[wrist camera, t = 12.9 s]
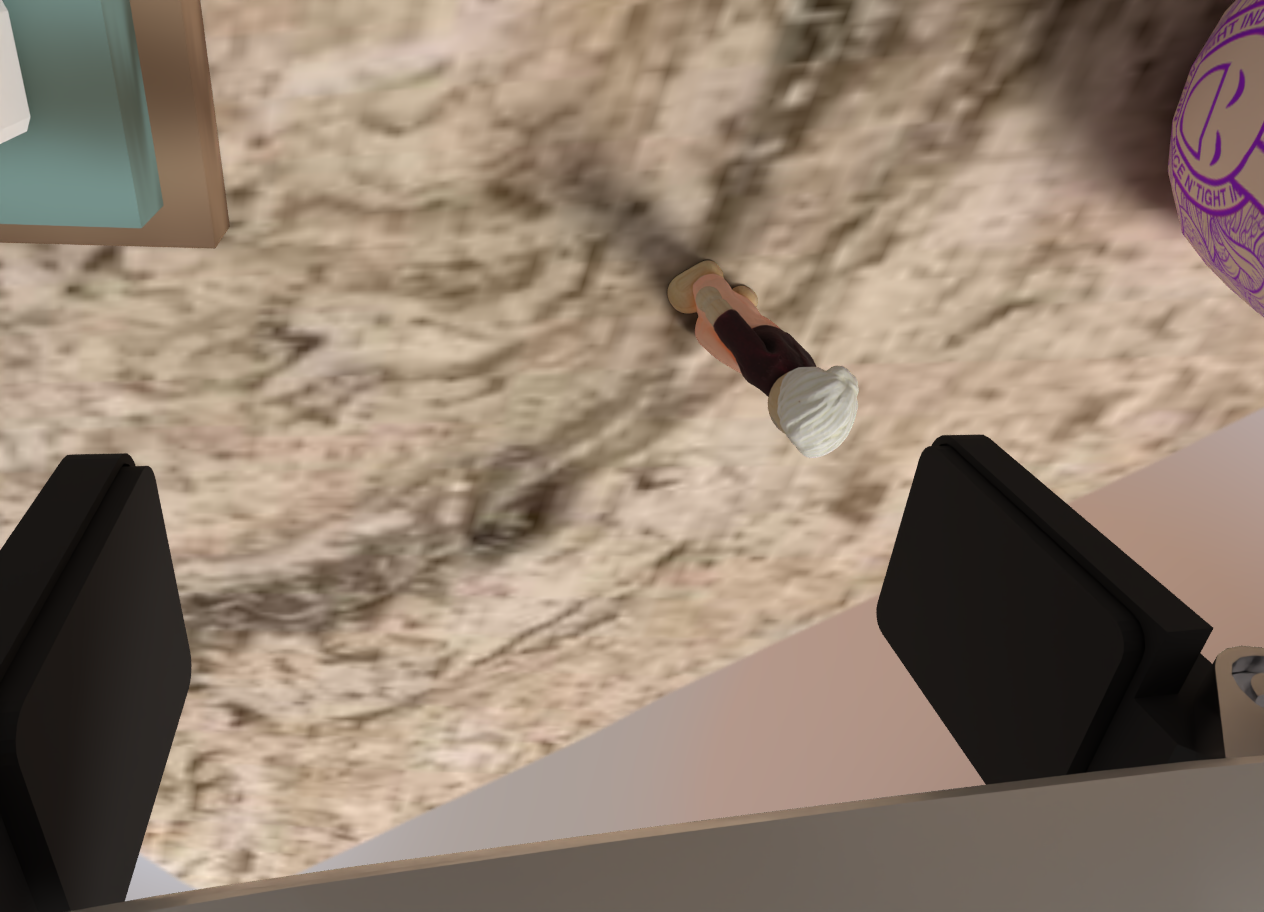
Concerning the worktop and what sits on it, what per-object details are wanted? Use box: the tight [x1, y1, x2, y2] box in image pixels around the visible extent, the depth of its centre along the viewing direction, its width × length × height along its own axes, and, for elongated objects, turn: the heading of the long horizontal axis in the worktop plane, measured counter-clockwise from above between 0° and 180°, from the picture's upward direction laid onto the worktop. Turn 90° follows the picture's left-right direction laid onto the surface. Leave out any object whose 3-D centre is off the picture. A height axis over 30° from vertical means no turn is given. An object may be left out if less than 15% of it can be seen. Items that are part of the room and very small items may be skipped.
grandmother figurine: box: [667, 261, 859, 458], centre depth 35 cm, size 8×4×13 cm, turn 61°
